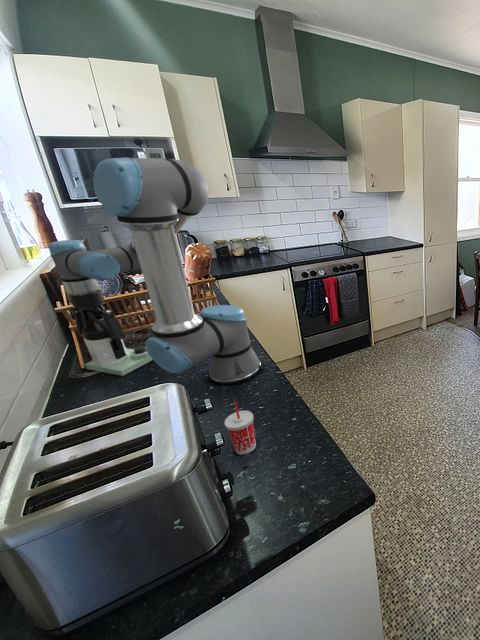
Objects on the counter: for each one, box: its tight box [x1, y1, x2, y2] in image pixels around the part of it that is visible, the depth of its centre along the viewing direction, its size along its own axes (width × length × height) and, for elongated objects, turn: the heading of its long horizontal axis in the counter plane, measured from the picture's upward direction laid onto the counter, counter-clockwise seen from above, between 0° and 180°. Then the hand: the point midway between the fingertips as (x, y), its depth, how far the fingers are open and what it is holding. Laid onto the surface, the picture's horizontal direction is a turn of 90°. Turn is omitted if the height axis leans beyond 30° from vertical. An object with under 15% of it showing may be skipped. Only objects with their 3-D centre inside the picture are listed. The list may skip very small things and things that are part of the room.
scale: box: [84, 346, 154, 377], centre depth 118 cm, size 15×12×4 cm
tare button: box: [133, 345, 146, 354], centre depth 119 cm, size 3×3×2 cm
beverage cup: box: [224, 400, 257, 455], centre depth 83 cm, size 6×6×14 cm
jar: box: [82, 323, 128, 367], centre depth 114 cm, size 9×8×12 cm
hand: (110, 355), depth 116 cm, fingers closed on jar, 9 cm apart
